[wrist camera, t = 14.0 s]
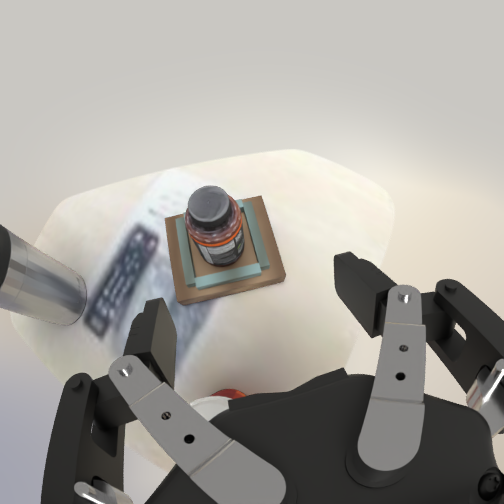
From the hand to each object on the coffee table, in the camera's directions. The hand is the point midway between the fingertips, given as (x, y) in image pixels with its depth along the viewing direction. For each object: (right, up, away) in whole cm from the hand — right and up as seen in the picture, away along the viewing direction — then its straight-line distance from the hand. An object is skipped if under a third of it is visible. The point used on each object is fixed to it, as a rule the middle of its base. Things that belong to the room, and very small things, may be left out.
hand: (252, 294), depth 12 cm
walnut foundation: (-4, +2, +26) cm, 27 cm away
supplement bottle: (-4, +2, +24) cm, 24 cm away
